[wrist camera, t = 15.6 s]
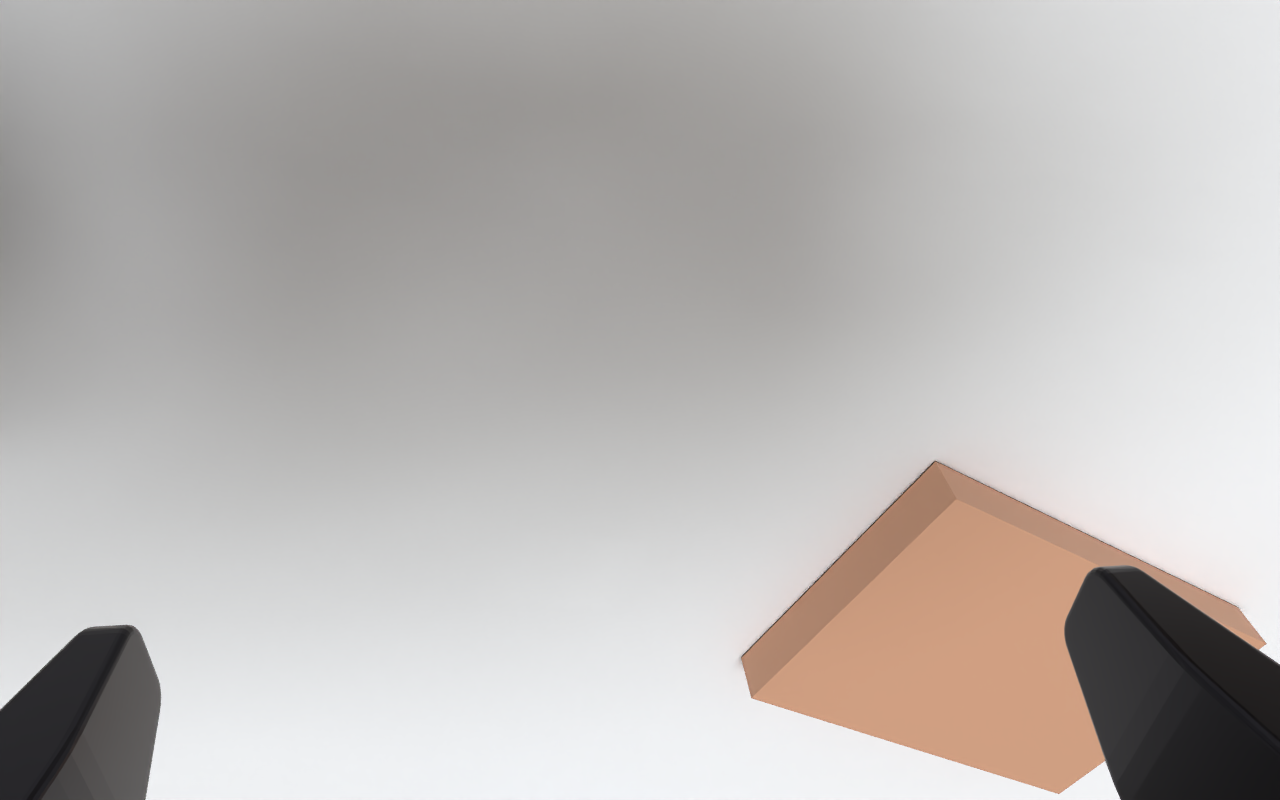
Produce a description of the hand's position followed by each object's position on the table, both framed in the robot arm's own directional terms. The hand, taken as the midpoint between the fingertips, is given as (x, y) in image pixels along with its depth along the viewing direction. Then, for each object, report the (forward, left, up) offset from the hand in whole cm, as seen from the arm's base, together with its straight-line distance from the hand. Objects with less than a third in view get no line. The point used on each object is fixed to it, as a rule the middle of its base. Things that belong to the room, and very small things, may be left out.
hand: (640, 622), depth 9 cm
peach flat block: (+14, -17, -13) cm, 26 cm away
